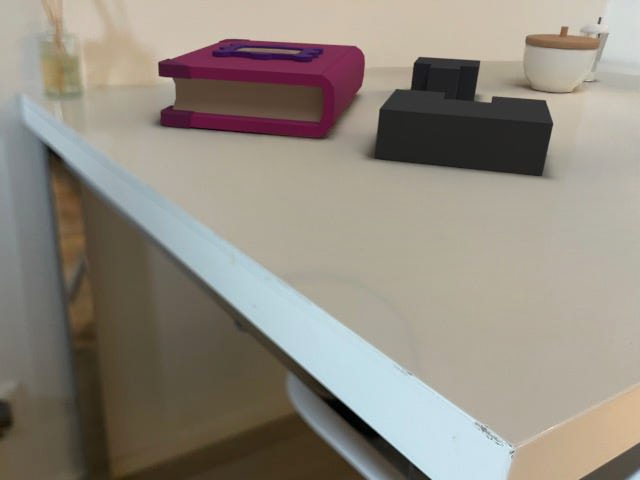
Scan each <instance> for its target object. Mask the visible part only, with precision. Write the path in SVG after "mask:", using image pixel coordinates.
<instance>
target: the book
mask: <svg viewBox="0 0 640 480" xmlns="http://www.w3.org/2000/svg"><path fill="white" fill-rule="evenodd" d="M365 65H366V57H365V54H364V52H363V51H362V49H361V48H359V47H358V46H357V45H347V44H328V43H327V44H326V43H311V42H310V43H307V42H290V41H273V40H272V41H271V40H251V39H249V38H248V39H244V38H224V39H221V40H218V42H216V43H213V44H210V45H207V46H204V47H202V48H198V49H196V50H192V51H190V52H186V53H184V54H181V55H178V56H175V57H173V58H169V57H168V58H165V59H163V60H160V61H158V62H157V68H158V70H157V71H158V73H157V74H158V77H160V78H167V79H172V81H173V83H174V85H175V86H174V87H175V91H174V92H175V100H174V103H173V104H171V105H169V106H166V107H165V108H163V109H161V110H160V112H159V113H160V125H161V126H163V127H171V128H183V129H191V128H199V129H211V130H221V131H233V132H234V131H235V132H245V133H260V134H268V135H269V134H270V135H281V136H282V135H283V136H294V137H303V138H304V137H305V138H314V139H315V138H317V139H318V138H320V137H322V136H324V135H326V134H327V133H328V132H329V131H330V129H332V127H333V125H334V124H335V123H336V122H337V120H338V119H339V118H340V116H341V115H342V113H343V112H344V111H345V110H346V108H347V107H348V106H349V104H350V103H351V101H353V99H354V98H355V96H356V95H357V93H358V92H359V90H360V89H362V87H363V83H364V78H365V70H366V69H365V68H366V67H365Z"/></svg>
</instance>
